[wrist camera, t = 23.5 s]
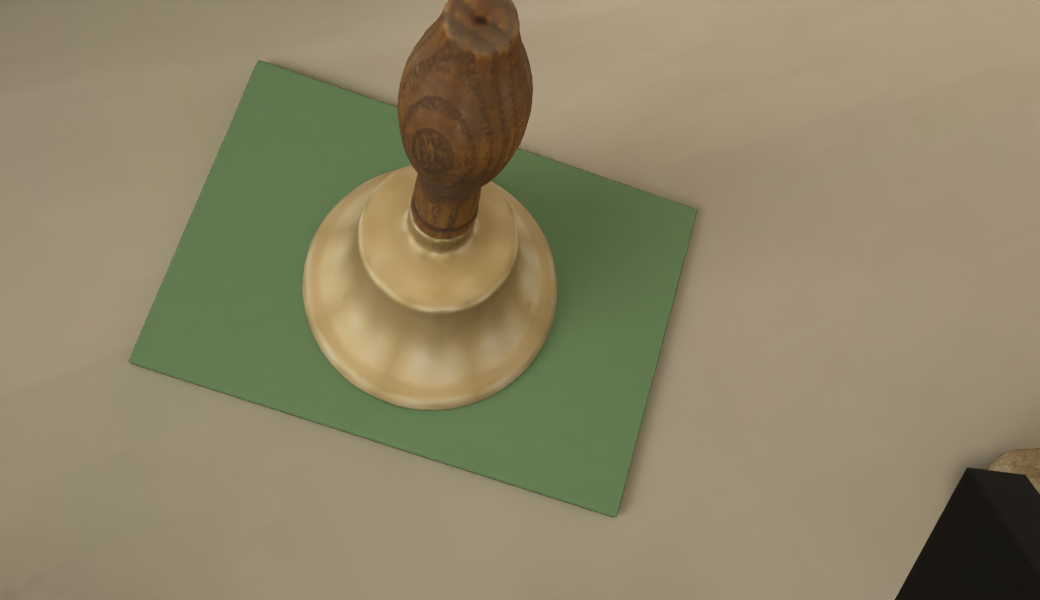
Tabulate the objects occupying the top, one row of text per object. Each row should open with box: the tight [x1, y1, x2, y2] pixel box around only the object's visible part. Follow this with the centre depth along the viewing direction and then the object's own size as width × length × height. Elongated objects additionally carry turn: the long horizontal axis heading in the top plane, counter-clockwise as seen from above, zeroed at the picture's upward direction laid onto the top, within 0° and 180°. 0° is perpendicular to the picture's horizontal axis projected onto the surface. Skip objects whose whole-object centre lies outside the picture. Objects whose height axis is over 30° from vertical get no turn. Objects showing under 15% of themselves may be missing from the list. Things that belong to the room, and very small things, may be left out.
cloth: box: [129, 60, 697, 517], centre depth 31 cm, size 16×11×1 cm
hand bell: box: [302, 0, 557, 410], centre depth 23 cm, size 8×8×16 cm
